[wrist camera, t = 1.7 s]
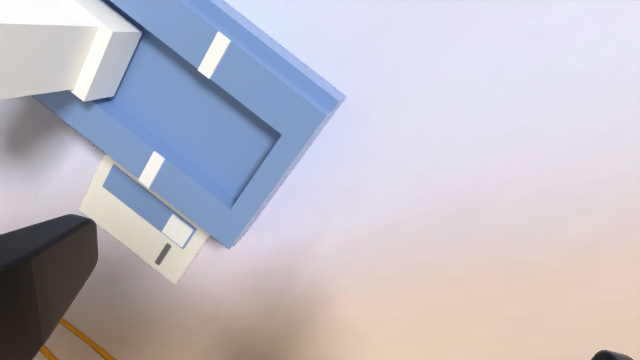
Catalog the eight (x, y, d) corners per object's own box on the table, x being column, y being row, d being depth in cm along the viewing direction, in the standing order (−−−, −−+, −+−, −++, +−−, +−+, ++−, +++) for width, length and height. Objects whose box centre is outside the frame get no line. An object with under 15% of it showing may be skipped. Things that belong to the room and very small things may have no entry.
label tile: (218, 222, 22) (213, 226, 21) (178, 280, 24) (173, 286, 23) (115, 141, 22) (107, 144, 21) (83, 206, 24) (76, 210, 23)
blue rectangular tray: (346, 96, 18) (333, 105, 16) (245, 233, 22) (222, 257, 19) (77, -114, 18) (23, -137, 16) (21, 58, 22) (-30, 60, 19)
